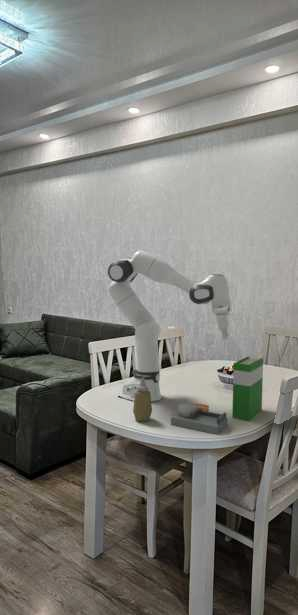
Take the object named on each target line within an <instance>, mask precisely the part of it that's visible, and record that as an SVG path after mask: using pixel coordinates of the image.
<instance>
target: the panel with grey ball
mask: <svg viewBox="0 0 298 615" xmlns="http://www.w3.org/2000/svg"><path fill="white" fill-rule="evenodd" d="M228 418H229V417H227V412H223V413H222V414H221V413H216V412H211V411H209V412H207V411H201V408H198V409H197V410H196V406H195V405H194V404H192V403H188V402H187V403H186V402H183V403H180V404H179V405H178V412H177V413H176V414H174V415H173V416H171V417H170V425H172V426H176V427H180V428H186V429H189V430H195V431H199V432H203V431H204V432H203V433H208V432H209V434H213V433H214V435H219V433H220V432H221V431H222V430H224V429H225V428H226V427H227V426H228ZM225 426H226V427H225Z"/></svg>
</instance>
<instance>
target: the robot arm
mask: <svg viewBox="0 0 298 615" xmlns="http://www.w3.org/2000/svg"><path fill="white" fill-rule="evenodd" d="M138 274H141V275H142V276H144V277H146V278H148V279H149V280H152V281H154V282H156V283H160V284H166V285H171V286H174V287H177V289H180V290H182V291H184V292H186V293H188V295H189V296H188V297H189V299H190V301H191V302H192V303H193V304H196V305H207V304H209V303H210V304H211V305H210V306H211V313H212V314H213V315H215V318H216V319H215V320H216V324H217V327H218V330H219V331H220V332H221V335H222V340H223V341H225V340H228V337H229V332H228V331H229V330H228V328H229V324H230V323H229V317H228V316H230V312H232V303H231V299H230V288H229V284H228V280H227V278H226V276H225V275H223V274H217V273H215V274H213V273H212V274H210V275H208V276H207V277H206V278H205V279H203V280H202V281H200V282H196V281H194V280H192V279H190V278H189V277H186V276H185V275H183V274H181V273H180V272H178V271H177V269H175V268H173V267H172V266H171V265H170V264H169V263H168V262H167V261H165V260H164V259H162V258H161V257H159V256H157V255H155V254H153V253H150V252H148V251H146V250H140V249H139V250H138V251H136V252H134V254H133V255H132V257H123V258H120V259H117V260H115V261H113V262H111V263H110V265H109V266H108V268H107V276H108V277H109V279H110V280H111V283H109V285H108V290H107V291H108V293H109V294H110V297H111V298H112V300H113V302H114V304H115V306H116V307H117V309H118V310H119V311H120V313H121V315H123V317H124V319H125V320H127V321H128V322H129V324H131V325H132V327H133V328H134V329H135V331H134V337H135V338H134V339H135V350H136V351H135V352H136V369H134V370H133V371H132V373H131V374H133V376H132V377H131V378H129V379H128V380H127V381H125V383H124V384H123V385H122V390H121V391H120V392H118V393H117V397H118V396H120V397H122V398H121V399H124V398H125V400H127V399H129V400H128V401H131V400H132V402H134V398H135V392H136V391H137V386H139V385H140V382H141V378H144V379H145V384H146V385H147V386H148V391H149V392H150V394H151V402H157V401H160V400H161V399H162V398H163V396H162V392H161V388H160V376H161V375H160V374H161V373H160V371H161V370H160V369H159V368H160V352H159V340H158V339H159V336H160V334H161V326H160V324H159V323H158V322H157V321H156V319H155V318H154V316H153V315H152V314H151V313H150V312H149V310H148V309H147V308H146V306H144V304H143V302H142V301H141V300H140V299H139V297H138V295H137V294H136V293H135V291H134V290H133V288H132V287H131V283H132V282H133V281H134V280H135V278H136V277H137V276H138ZM120 397H119V398H120Z"/></svg>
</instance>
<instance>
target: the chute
mask: <svg viewBox="0 0 298 615" xmlns="http://www.w3.org/2000/svg"><path fill="white" fill-rule="evenodd" d="M191 404H194V405H195V406H196V410H197V409H198V408H201V411H207V412H210V410H209V409H210V404H205V403H199V402H194V401H192V402H191Z"/></svg>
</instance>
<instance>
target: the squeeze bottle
mask: <svg viewBox="0 0 298 615" xmlns="http://www.w3.org/2000/svg"><path fill="white" fill-rule="evenodd" d="M152 407H153V405H152V401H151V394H150V392H149V391H148V386H147V385H146V384H145V379H144V378H141V382H140V385H139V386H137V391H136V392H135V398H134V401H133V408H132V411H133V415H134V419H135V420H136V421H137V422H142V423H143V422H149V420H150V418H151V415H152V412H153V409H152Z"/></svg>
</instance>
